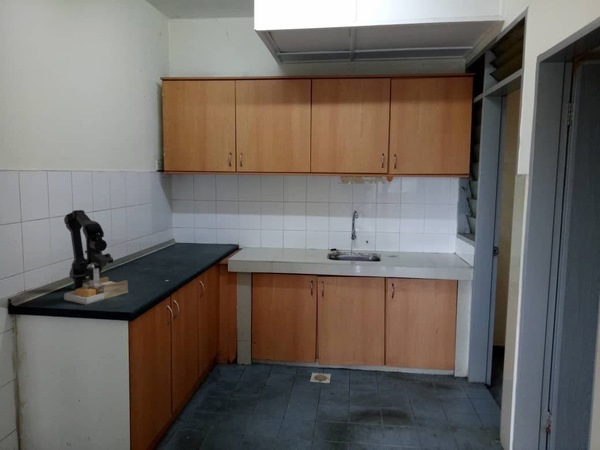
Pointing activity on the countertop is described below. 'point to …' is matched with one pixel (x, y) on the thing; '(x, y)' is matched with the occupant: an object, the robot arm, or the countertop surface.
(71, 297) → the chip tray
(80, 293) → the matte ochre cube
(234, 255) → the countertop surface
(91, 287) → the scraper
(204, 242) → the countertop surface
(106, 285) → the slot block
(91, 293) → the tan cardboard cube
